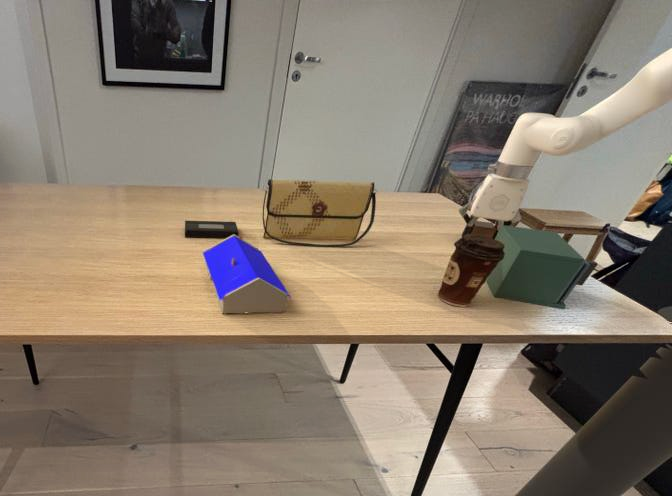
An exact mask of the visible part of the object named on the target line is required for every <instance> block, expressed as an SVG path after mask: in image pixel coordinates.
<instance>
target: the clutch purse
mask: <svg viewBox="0 0 672 496" xmlns="http://www.w3.org/2000/svg"><path fill="white" fill-rule="evenodd" d="M262 188H263V191H264V192H265V194H264V197H263V204H262V205H263V206H262V227H263V228H262V238H270V239H272V240H275V241H277V242H280V243H284V244H287V245H297V246H307V247H308V246H309V247H319V248H336V247H337V248H338V247H339V248H340V247H347V246H349V247H350V246H352V245H355V244H356V243H358V242H360V241H361V240H362V239H363V238H365V236H366V235H367V234H368V233H369V232H370V230H371V228H372V225H373V224H374V221H375V216H376V207H377V206H376V205H377V203H376V201H377V199H376V197H377V196H376V194H377V193H378V190H377V189H375V182H373V181H371V182H369V181H367V182H366V181H339V180H338V181H336V180H335V181H334V180H300V179H270V178H269V179H268V180H267V185H263V187H262ZM265 188H266V189H265ZM267 190H268V191H267ZM374 191H375V192H374ZM266 198H267V199H266ZM265 204H266V205H265ZM370 206H371V213H370V215H371V216H370V219H369V220H370V221H369V223H368V226H367V227H366V229H365V231H364V232H363V233H361V234H360V236H359V233H360V230H361V226H362V223H363V221H364V217H365V215H366V213H367V212H368V211H369V208H370ZM358 236H359V237H358ZM280 238H289V239H290V238H294V239H295V238H296V239H331V240H332V239H334V240H353V241H351V242H347V243H336V244H318V243H317V244H316V243H309V242H296V241H288V240H283V239H280Z"/></svg>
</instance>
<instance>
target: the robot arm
mask: <svg viewBox="0 0 672 496" xmlns="http://www.w3.org/2000/svg"><path fill="white" fill-rule="evenodd" d="M671 101H672V47H670V48H669V49H668V50H666V51H664V52H662V53H661V54H660V55H658V56H656V57H655V58H653V59H652V60H651V61H649V62H648V63H646V64H645V65H644V66H643V67H642V68H640V70H639V71H638V72H637V73H636V74H635V75H634V77H632V78H631V79H630V81H628V82H627V83H626V84H624V86H622V87H621V88H619V89H618V90H616V91H615V92H614V93H612V94H611V95H609V96H608V97H606V98H604V99H603V100H602V101H600V102H598V103H597V104H596V105H593V106H592V107H591V108H589V109H587V110H586V111H584V112H583V113H581V114H578V115H575V116H570V117H556V116H555V115H554V114H550V113H543V112H524V113H523V114H521V115H520V116H519V117H518V118H517V120H516V122H515V124H514V126H513V128H512V130H511V132H510V134H509V136H508V138H507V140H506V142H505V144H504V146H503V150H502V151H501V153H500V155H499V158H498V159H497V160H496V161H495V163H489V164H488V165H487V171H488V170H489V171H491V173H488V174H487V176H486V177H485V178H484V180H483V181H482V183H481V184H480V186H479V188H478V189H477V191H476V192H475V194H474V196H473V198H472V200H471V201H469V202H468V203H466V204H465V205H463V206H462V207H460V208H459V209H458V213H459V215H460V216H461V217H462V218H463V220H464V222H465V223H466V224H465V226H464V229H463V231H462V232H461V238H462V237H464V235H466V234H471V232H472V230H473V224H474V223H475V222H476V221H479V219H488V220H495V224H494V226H495V227H496V231H495V233H494V235H493V237H492V239H494V240H495V238H496V236H497V234H498V233H499V231H500V229H501V227H502V225H506V226H512V225H513V224H515V223H518V222H520V221H522V215H521V213H520V207H521V205H522V203H523V200H524V197H525V195H526V193H527V190H528V187H529V185H530V179H528V176H529V175H530V172H531V171H532V169H533V167H534V165H535V163H536V161H537V159H538V158H539V156H540V154H541V153H543V154H547V155H550V156H554V157H563V156H568V155H572V154H573V153H574V154H575V153H577V152H580V151H583V150H585V149H587V148H589V147H591V146H593V145H595V144H596V143H598V142H600V141H602V140H604V139H606V138H607V137H609V136H611V135H612V134H614V133H616V132H618V131H619V130H621V129H623V128H625V127H626V126H628V125H630V124H632V123H633V122H635V121H636V120H639V119H640V118H641V117H643V116H645V115H647V114H649V113H651V112H652V111H654V110H657V109H658V108H660V107H662V106H664V105H666V104H667V103H669V102H671ZM468 211H469V212H470V216H469V214H468V213H467V212H468Z"/></svg>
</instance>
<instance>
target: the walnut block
mask: <svg viewBox="0 0 672 496" xmlns="http://www.w3.org/2000/svg"><path fill="white" fill-rule="evenodd" d="M495 231H496V227H495V224H494V223H493V222H489V221H482V220H481V221H480V220H477V221H476V222H475V223H474V224H473V230H472V232H471V234H479V235H484V236H487V237H490V238H492V237H493V235H494V233H495Z"/></svg>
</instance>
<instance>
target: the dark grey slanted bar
mask: <svg viewBox="0 0 672 496" xmlns="http://www.w3.org/2000/svg"><path fill="white" fill-rule="evenodd" d="M577 253H578V254H579V255H580V256H581V257H582V258H584V257H583V256H582V255H581V254H580V253H579V252H577ZM583 262H584V263H585V264H584V265H583V266H582V268H581V269H580V271H579V272H578V273H577V275H576V276H575V278H574V279H573V280H572V282H571V283H570V285H569V286H568V288H567V289H566V290H565V292H564V293H563V295H562V296H561V297H560V299H559V301H560V302H564V303H565V301H566V300H567V298H568V297H569V295H570V294H571V293H572V291H573V290H574V288H576V286H583V285H584V284H585V283H586V281H587V280H588V278H589V277H590V276H591V274H593V272H594V271H595V269H596V267H597V266H598V265H599V263H598V262H597V261H593V260H586V259H585V258H584V260H583Z"/></svg>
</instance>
